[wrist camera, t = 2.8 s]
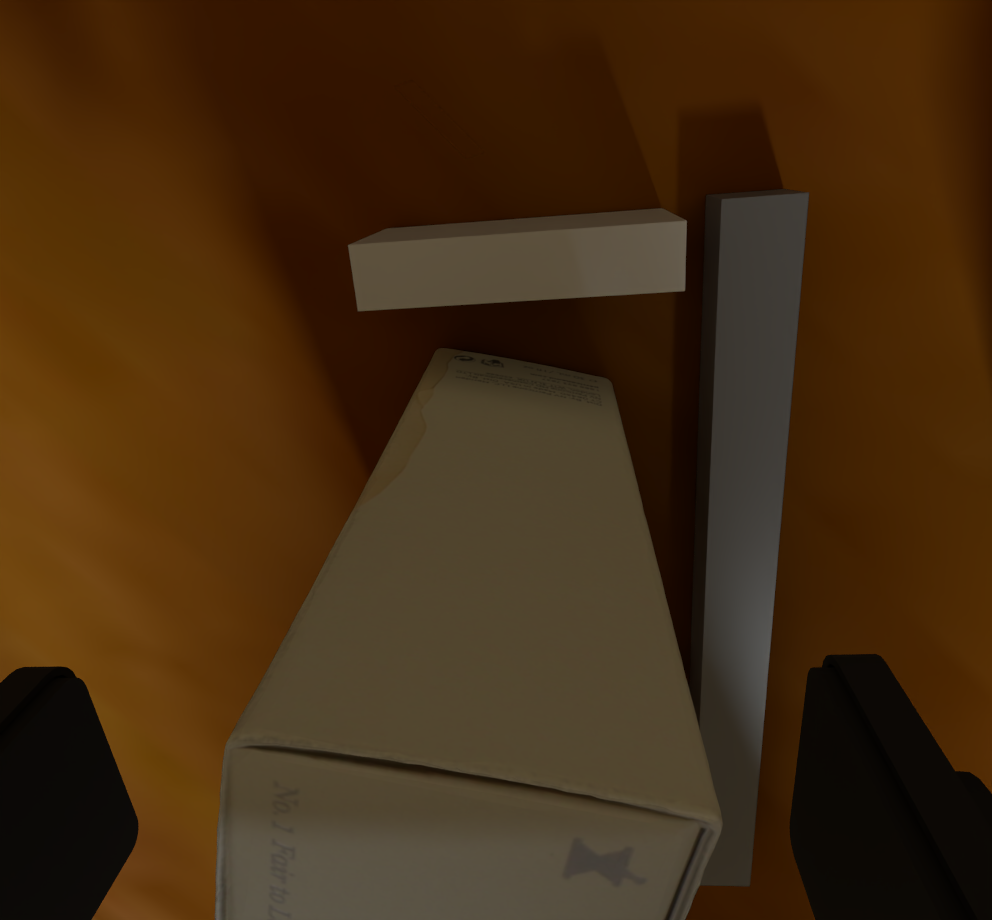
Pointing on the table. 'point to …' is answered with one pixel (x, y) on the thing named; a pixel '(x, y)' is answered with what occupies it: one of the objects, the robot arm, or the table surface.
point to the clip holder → (721, 420)
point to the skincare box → (477, 684)
